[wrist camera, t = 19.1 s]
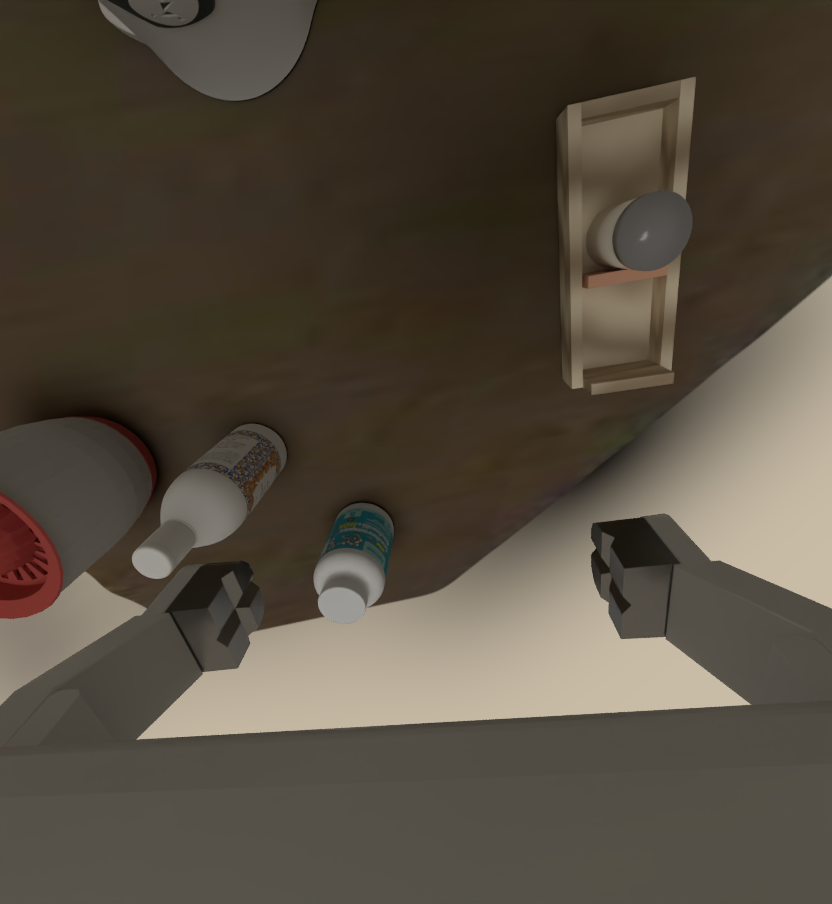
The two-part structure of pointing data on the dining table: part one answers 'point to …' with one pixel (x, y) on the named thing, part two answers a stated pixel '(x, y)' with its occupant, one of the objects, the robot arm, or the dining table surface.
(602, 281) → the block
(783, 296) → the dining table surface
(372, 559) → the pill bottle
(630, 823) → the robot arm
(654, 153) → the wooden tray
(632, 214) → the cream jar
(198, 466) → the bath foam
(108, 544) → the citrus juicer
